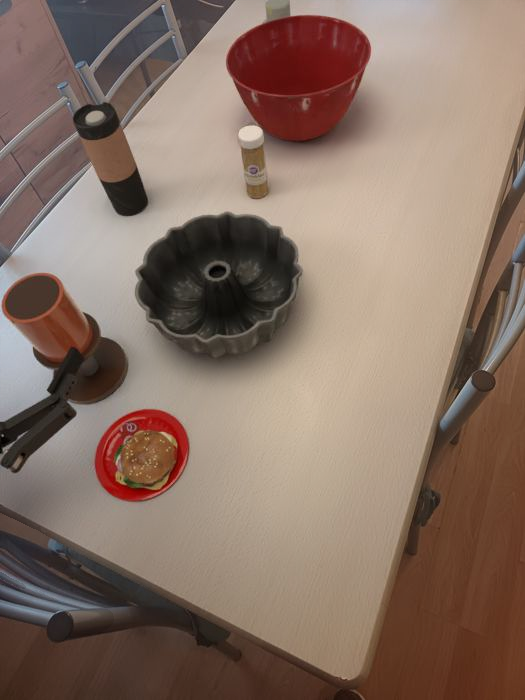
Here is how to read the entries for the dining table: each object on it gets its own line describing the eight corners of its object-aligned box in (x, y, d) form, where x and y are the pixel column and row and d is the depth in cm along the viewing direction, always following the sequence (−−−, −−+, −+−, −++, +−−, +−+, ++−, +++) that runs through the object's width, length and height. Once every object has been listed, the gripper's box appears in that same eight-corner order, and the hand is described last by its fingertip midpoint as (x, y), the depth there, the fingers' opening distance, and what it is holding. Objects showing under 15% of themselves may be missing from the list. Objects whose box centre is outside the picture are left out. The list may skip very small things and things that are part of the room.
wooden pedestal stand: (43, 395, 80) (10, 364, 72) (77, 334, 86) (50, 299, 78) (108, 411, 78) (82, 381, 69) (139, 347, 83) (118, 312, 75)
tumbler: (28, 356, 72) (-11, 316, 64) (55, 311, 76) (21, 268, 68) (77, 367, 71) (43, 327, 62) (102, 320, 74) (74, 277, 66)
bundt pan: (202, 234, 96) (190, 193, 87) (328, 276, 87) (329, 235, 79) (122, 340, 85) (100, 305, 76) (258, 399, 76) (250, 367, 68)
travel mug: (128, 222, 100) (89, 133, 83) (105, 206, 103) (63, 117, 86) (157, 201, 102) (124, 110, 85) (133, 186, 105) (97, 95, 88)
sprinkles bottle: (248, 201, 99) (239, 142, 88) (245, 186, 102) (235, 127, 90) (271, 196, 99) (265, 137, 88) (267, 181, 102) (260, 122, 90)
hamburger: (198, 415, 76) (190, 398, 71) (175, 508, 69) (164, 496, 64) (113, 405, 78) (98, 388, 73) (82, 494, 71) (63, 481, 66)
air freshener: (268, 58, 126) (264, 15, 117) (254, 44, 130) (250, 1, 122) (306, 45, 127) (305, 1, 119) (292, 31, 132) (290, -12, 123)
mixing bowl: (385, 145, 104) (394, 71, 91) (253, 178, 103) (243, 108, 90) (340, 74, 119) (343, 2, 106) (225, 102, 118) (213, 33, 105)
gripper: (15, 518, 51) (105, 345, 61) (-170, 458, 56) (-60, 309, 66) (49, 533, 57) (126, 374, 67) (-120, 478, 63) (-26, 340, 73)
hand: (34, 342), depth 67 cm, fingers open, 13 cm apart
